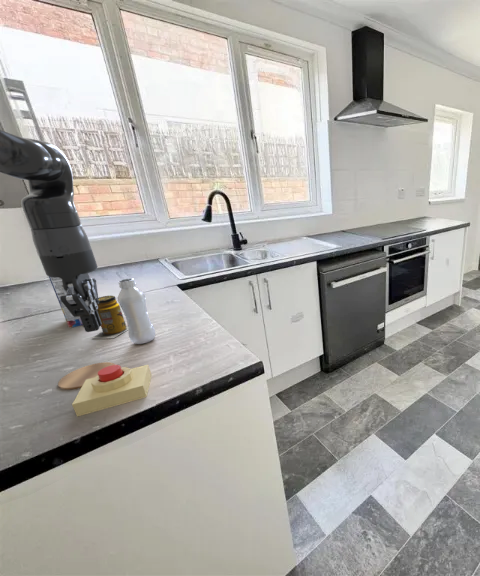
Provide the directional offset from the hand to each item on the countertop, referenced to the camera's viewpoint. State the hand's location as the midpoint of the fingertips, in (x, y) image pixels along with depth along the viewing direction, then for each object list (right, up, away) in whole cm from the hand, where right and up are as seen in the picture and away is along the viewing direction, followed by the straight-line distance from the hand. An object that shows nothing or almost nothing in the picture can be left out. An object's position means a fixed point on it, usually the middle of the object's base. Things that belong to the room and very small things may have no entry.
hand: (94, 328), depth 66 cm
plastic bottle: (-12, -8, +30) cm, 33 cm away
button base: (0, -16, +6) cm, 17 cm away
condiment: (-27, -6, +36) cm, 45 cm away
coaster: (-13, -14, +13) cm, 23 cm away
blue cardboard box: (-46, -3, +46) cm, 65 cm away
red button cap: (0, -12, +4) cm, 12 cm away
